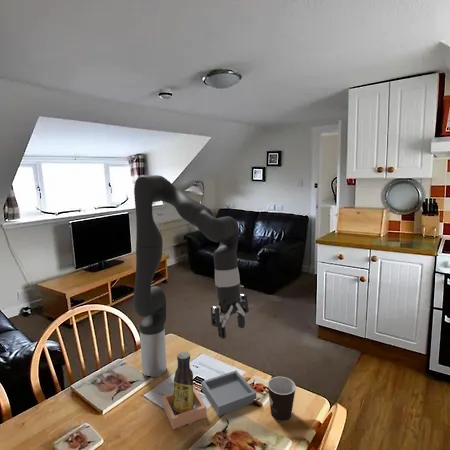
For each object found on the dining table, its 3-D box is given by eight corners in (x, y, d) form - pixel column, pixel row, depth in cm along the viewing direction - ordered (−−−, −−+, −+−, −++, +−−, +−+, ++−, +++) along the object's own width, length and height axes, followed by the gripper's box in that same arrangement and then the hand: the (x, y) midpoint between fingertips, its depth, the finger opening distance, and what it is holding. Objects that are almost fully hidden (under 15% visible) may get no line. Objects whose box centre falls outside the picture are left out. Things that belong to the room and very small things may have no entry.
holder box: (162, 406, 107) (162, 396, 106) (193, 395, 111) (193, 386, 111) (172, 429, 97) (172, 419, 96) (206, 416, 102) (206, 406, 101)
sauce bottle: (170, 415, 103) (167, 357, 99) (180, 402, 108) (178, 347, 105) (188, 421, 100) (186, 362, 97) (197, 407, 106) (196, 351, 102)
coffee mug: (295, 425, 98) (295, 396, 96) (266, 421, 99) (266, 392, 98) (294, 399, 109) (295, 372, 107) (268, 396, 111) (269, 369, 109)
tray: (201, 389, 114) (201, 381, 114) (236, 378, 120) (236, 370, 120) (218, 416, 102) (218, 407, 101) (256, 401, 108) (256, 393, 108)
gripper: (234, 274, 107) (238, 321, 108) (202, 286, 97) (207, 338, 98) (251, 277, 101) (256, 327, 103) (219, 290, 91) (225, 345, 93)
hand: (232, 332), depth 101 cm, fingers open, 8 cm apart
